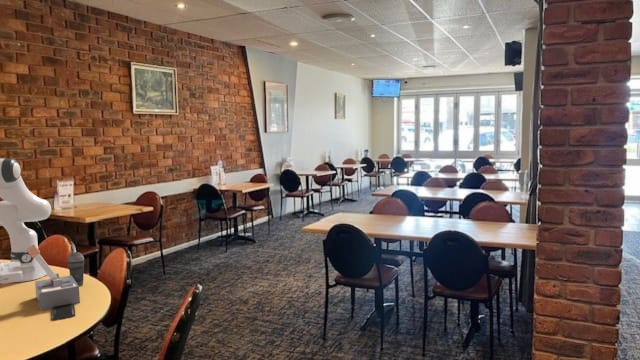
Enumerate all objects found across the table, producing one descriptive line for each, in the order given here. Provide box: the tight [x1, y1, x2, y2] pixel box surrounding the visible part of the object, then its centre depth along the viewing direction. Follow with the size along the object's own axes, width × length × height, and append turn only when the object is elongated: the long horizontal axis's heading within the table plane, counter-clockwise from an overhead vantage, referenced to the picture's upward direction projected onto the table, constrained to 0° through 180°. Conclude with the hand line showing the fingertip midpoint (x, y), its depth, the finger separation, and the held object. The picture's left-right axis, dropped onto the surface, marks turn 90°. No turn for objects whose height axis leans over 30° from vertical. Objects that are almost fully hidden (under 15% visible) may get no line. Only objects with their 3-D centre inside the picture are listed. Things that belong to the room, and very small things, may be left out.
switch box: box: [34, 272, 81, 311], centre depth 198 cm, size 20×14×10 cm
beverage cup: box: [66, 242, 85, 287], centre depth 217 cm, size 7×7×20 cm
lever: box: [27, 245, 58, 281], centre depth 195 cm, size 8×3×18 cm, turn 35°
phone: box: [51, 304, 76, 321], centre depth 184 cm, size 8×1×15 cm
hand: (34, 268), depth 193 cm, fingers closed
